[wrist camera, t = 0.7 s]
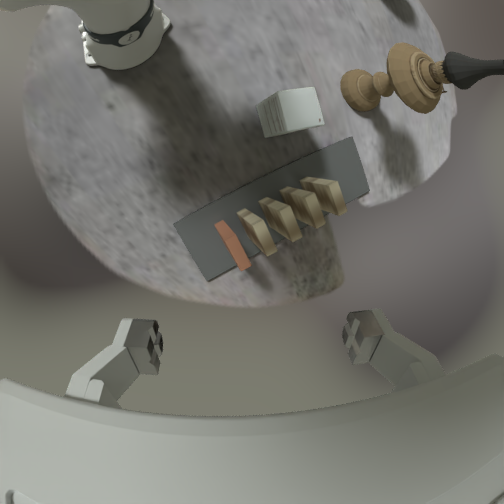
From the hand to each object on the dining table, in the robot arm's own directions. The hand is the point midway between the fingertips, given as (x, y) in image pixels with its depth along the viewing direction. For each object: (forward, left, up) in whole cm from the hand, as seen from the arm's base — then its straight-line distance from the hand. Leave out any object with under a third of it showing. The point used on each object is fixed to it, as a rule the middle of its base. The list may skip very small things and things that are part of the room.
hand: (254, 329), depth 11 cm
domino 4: (+10, +18, -44) cm, 48 cm away
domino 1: (+10, +3, -44) cm, 45 cm away
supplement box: (-7, +23, -45) cm, 51 cm away
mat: (+10, +17, -44) cm, 48 cm away
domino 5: (+10, +23, -44) cm, 50 cm away
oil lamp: (-7, +47, -45) cm, 65 cm away
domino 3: (+10, +13, -44) cm, 47 cm away
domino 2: (+10, +8, -44) cm, 45 cm away
